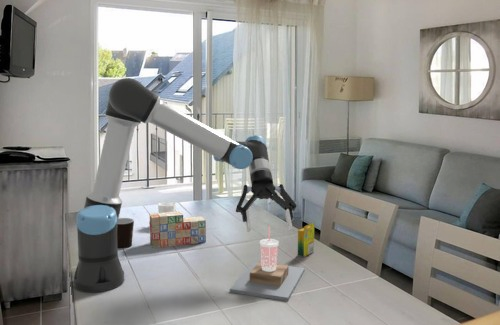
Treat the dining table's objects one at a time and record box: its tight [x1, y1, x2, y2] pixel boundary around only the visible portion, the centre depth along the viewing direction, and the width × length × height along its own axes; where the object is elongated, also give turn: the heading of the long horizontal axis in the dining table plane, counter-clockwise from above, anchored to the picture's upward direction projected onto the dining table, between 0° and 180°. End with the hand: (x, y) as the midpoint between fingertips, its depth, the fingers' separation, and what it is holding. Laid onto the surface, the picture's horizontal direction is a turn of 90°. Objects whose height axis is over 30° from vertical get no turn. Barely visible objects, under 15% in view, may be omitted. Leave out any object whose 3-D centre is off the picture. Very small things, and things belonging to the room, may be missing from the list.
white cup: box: [157, 201, 177, 213], centre depth 205 cm, size 8×8×10 cm
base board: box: [229, 261, 305, 302], centre depth 146 cm, size 24×18×1 cm
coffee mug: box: [117, 217, 135, 250], centre depth 179 cm, size 12×9×10 cm
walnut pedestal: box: [250, 261, 289, 286], centre depth 146 cm, size 10×10×4 cm
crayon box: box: [297, 222, 315, 258], centre depth 171 cm, size 7×3×12 cm, turn 141°
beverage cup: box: [259, 225, 280, 272], centre depth 145 cm, size 6×6×14 cm
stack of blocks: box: [148, 210, 207, 249], centre depth 182 cm, size 21×6×12 cm, turn 109°
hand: (269, 229), depth 147 cm, fingers open, 13 cm apart
